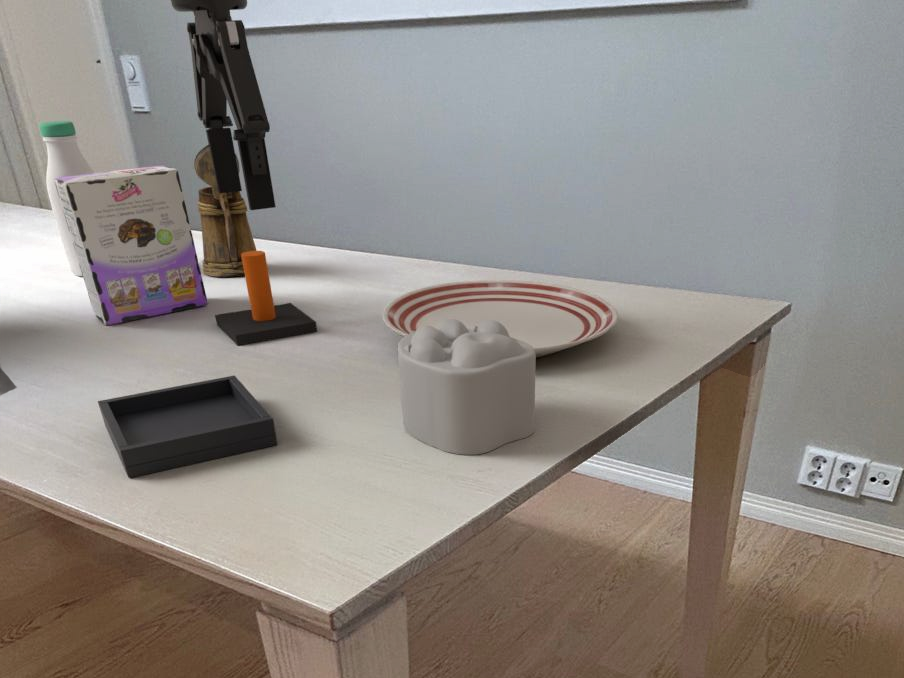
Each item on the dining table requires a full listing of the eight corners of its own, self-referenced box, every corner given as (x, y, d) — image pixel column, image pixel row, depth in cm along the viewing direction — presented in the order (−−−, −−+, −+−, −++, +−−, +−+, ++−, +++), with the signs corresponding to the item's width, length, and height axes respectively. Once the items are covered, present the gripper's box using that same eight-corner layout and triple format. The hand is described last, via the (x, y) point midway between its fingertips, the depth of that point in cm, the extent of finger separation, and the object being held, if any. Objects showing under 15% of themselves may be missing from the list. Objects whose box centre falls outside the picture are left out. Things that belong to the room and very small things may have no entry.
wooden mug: (208, 287, 120) (178, 144, 109) (201, 267, 130) (173, 134, 119) (270, 281, 122) (246, 139, 111) (258, 261, 132) (235, 130, 121)
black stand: (216, 324, 105) (201, 250, 100) (292, 312, 109) (280, 240, 103) (237, 345, 98) (221, 267, 93) (317, 331, 101) (306, 255, 96)
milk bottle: (83, 280, 125) (37, 126, 113) (64, 272, 129) (18, 123, 117) (132, 271, 129) (92, 120, 117) (112, 263, 134) (72, 118, 121)
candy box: (193, 297, 116) (163, 163, 106) (209, 306, 112) (179, 168, 102) (93, 316, 109) (51, 175, 99) (106, 326, 105) (64, 181, 95)
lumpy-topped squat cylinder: (463, 461, 71) (459, 360, 66) (376, 419, 79) (366, 326, 74) (549, 428, 76) (552, 332, 71) (460, 391, 84) (456, 303, 79)
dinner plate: (633, 311, 105) (636, 283, 103) (590, 386, 84) (591, 353, 82) (432, 298, 112) (430, 272, 110) (346, 365, 91) (342, 334, 89)
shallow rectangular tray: (105, 426, 79) (97, 401, 78) (239, 399, 84) (234, 375, 82) (128, 478, 70) (120, 451, 68) (278, 445, 75) (273, 418, 73)
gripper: (276, -49, 74) (312, 211, 87) (209, -32, 92) (247, 182, 105) (193, -49, 72) (243, 220, 84) (140, -31, 89) (188, 189, 102)
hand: (245, 200), depth 95 cm, fingers open, 13 cm apart
